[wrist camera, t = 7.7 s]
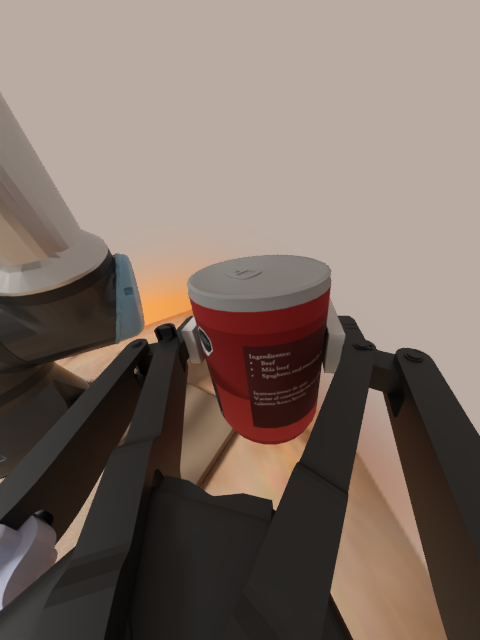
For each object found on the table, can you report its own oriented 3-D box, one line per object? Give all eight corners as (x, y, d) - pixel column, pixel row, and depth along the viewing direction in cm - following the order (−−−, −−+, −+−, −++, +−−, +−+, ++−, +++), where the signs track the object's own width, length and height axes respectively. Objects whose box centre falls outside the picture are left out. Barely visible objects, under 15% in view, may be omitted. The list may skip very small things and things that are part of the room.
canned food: (243, 359, 21) (227, 255, 15) (322, 379, 17) (338, 252, 12) (200, 422, 15) (152, 290, 10) (306, 471, 12) (322, 306, 6)
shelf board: (98, 461, 24) (83, 445, 23) (181, 383, 34) (176, 368, 32) (163, 543, 18) (149, 530, 16) (244, 417, 27) (241, 400, 26)
